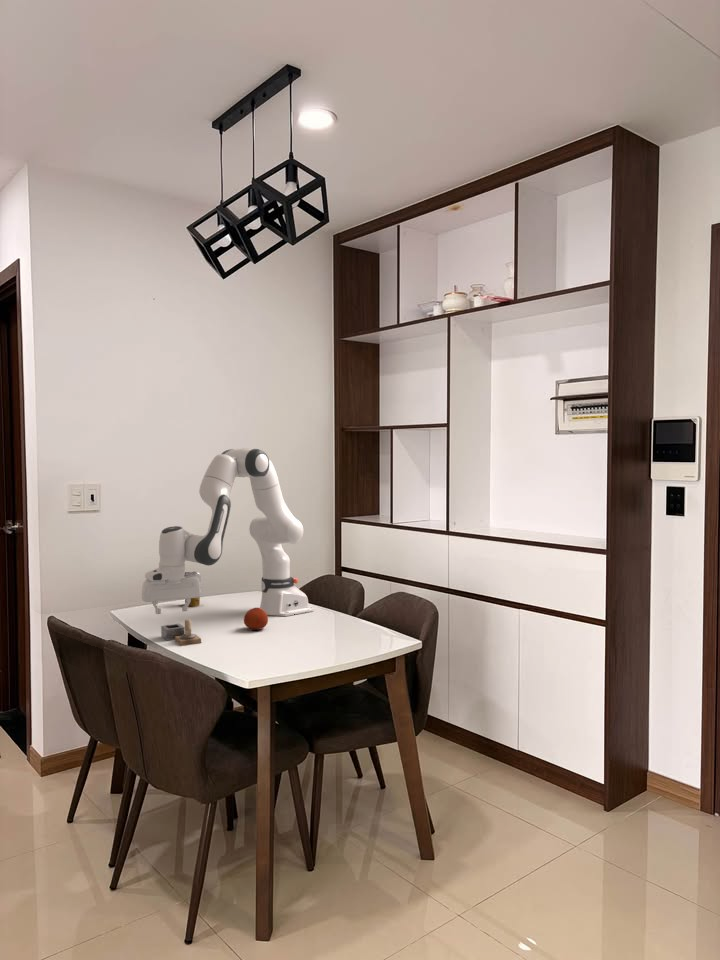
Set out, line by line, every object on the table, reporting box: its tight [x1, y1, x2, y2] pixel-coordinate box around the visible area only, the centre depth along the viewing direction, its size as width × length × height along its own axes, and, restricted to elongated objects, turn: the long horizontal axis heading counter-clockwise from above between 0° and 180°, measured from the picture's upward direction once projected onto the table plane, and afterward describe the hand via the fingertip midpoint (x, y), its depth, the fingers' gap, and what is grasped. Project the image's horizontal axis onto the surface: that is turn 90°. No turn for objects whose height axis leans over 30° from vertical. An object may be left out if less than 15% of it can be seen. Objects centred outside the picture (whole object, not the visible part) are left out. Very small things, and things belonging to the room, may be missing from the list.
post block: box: [174, 619, 202, 647], centre depth 254 cm, size 7×7×8 cm
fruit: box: [243, 607, 269, 630], centre depth 272 cm, size 9×9×8 cm
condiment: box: [177, 596, 204, 609], centre depth 310 cm, size 7×8×12 cm
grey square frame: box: [160, 623, 185, 642], centre depth 260 cm, size 6×6×4 cm
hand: (171, 612), depth 259 cm, fingers open, 8 cm apart
